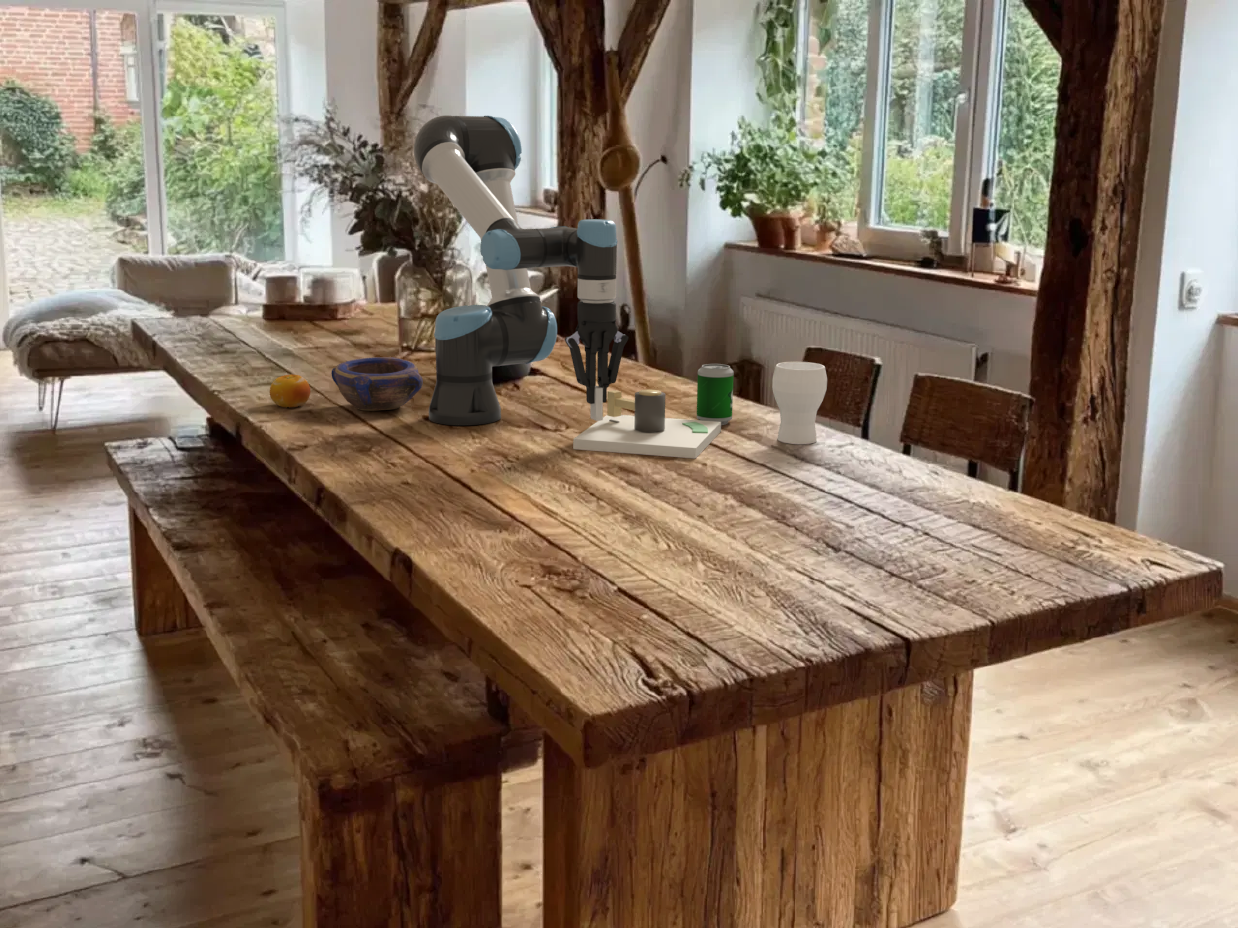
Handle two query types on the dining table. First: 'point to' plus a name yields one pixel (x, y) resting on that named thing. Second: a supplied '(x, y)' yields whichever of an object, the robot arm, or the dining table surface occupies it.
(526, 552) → the dining table surface
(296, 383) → the fruit
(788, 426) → the cup
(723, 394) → the soda can
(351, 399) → the bowl
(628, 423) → the dial plate
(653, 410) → the grey cylinder with handle
